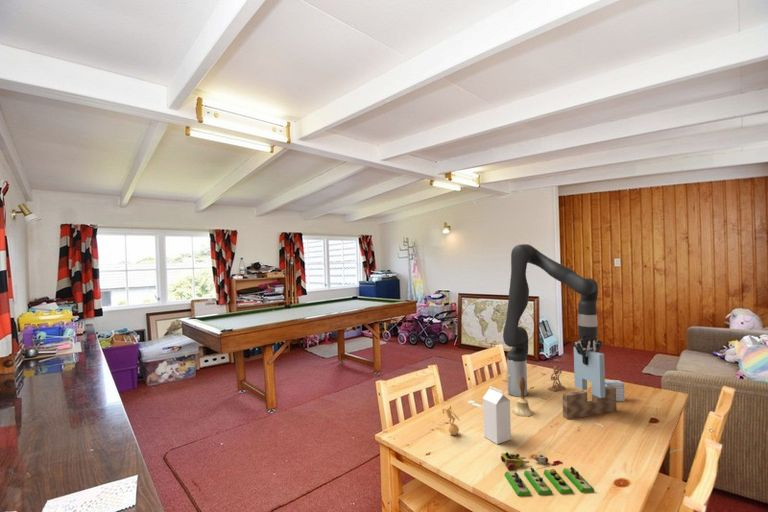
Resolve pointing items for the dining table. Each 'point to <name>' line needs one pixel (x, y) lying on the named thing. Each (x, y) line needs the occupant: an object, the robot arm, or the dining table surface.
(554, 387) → the tan statuette
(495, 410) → the milk carton
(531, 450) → the dining table surface
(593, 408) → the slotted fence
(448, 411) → the figurine
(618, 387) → the medicine box
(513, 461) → the toy garden set
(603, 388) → the blue-gray tapered panel
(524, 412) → the hand bell
